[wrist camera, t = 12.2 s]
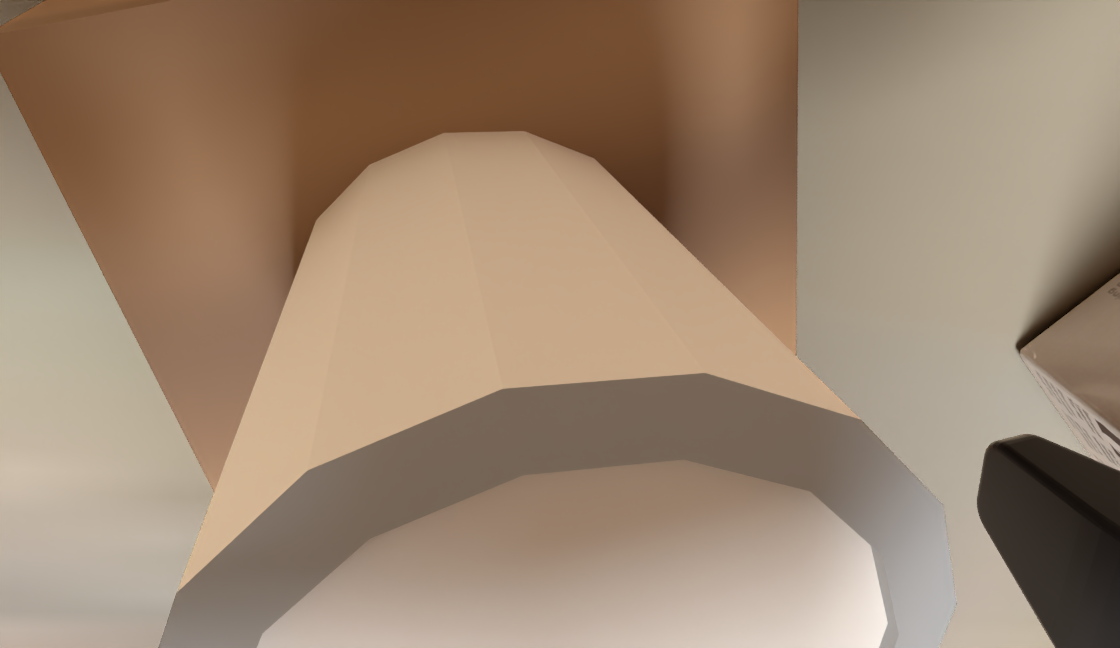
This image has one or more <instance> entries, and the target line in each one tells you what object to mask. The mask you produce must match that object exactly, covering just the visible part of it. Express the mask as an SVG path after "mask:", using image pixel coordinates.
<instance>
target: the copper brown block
mask: <svg viewBox="0 0 1120 648" xmlns="http://www.w3.org/2000/svg"><path fill="white" fill-rule="evenodd" d="M0 72H1V74H2V76H3V78H4V80H5V82H6V84H7V86H8V88H9V90H10V92H11V94H12V96H13V98H14V100H15V102H16V104H17V106H18V108H19V110H20V112H21V114H22V116H23V118H24V120H25V122H26V123H27V125H28V127H29V129H30V131H31V133H32V135H33V137H34V139H35V141H36V143H37V145H38V147H39V149H40V151H41V153H42V155H43V157H44V159H45V161H46V163H47V165H48V167H49V169H50V171H51V173H52V175H53V177H54V179H55V180H56V182H57V184H58V186H59V188H60V190H61V192H62V194H63V196H64V198H65V200H66V202H67V204H68V206H69V208H70V210H71V212H72V214H73V216H74V218H75V220H76V222H77V224H78V226H79V228H80V230H81V232H82V234H83V236H84V238H85V239H86V241H87V243H88V245H89V247H90V249H91V251H92V253H93V255H94V257H95V259H96V261H97V263H98V265H99V267H100V269H101V271H102V273H103V275H104V277H105V279H106V281H107V283H108V285H109V287H110V289H111V291H112V293H113V295H114V296H115V298H116V300H117V302H118V304H119V306H120V308H121V310H122V312H123V314H124V316H125V318H126V320H127V322H128V324H129V326H130V328H131V330H132V332H133V334H134V336H135V338H136V340H137V342H138V344H139V346H140V348H141V350H142V352H143V353H144V355H145V357H146V359H147V361H148V363H149V365H150V367H151V369H152V371H153V373H154V375H155V377H156V379H157V381H158V383H159V385H160V387H161V389H162V391H163V393H164V395H165V397H166V399H167V401H168V403H169V405H170V407H171V409H172V410H173V412H174V414H175V416H176V418H177V420H178V422H179V424H180V426H181V428H182V430H183V432H184V434H185V436H186V438H187V440H188V442H189V444H190V446H191V448H192V450H193V452H194V454H195V456H196V458H197V460H198V462H199V464H200V466H201V468H202V469H203V471H204V473H205V475H206V477H207V479H208V481H209V483H210V485H211V487H212V489H213V491H214V492H215V489H216V486H217V484H218V481H219V478H220V476H221V473H222V470H223V468H224V465H225V462H226V460H227V457H228V454H229V452H230V449H231V446H232V444H233V441H234V438H235V436H236V433H237V430H238V428H239V425H240V422H241V420H242V417H243V414H244V412H245V409H246V406H247V404H248V401H249V398H250V396H251V393H252V390H253V388H254V385H255V382H256V380H257V377H258V374H259V372H260V369H261V366H262V364H263V361H264V358H265V356H266V353H267V350H268V348H269V345H270V342H271V340H272V337H273V334H274V332H275V329H276V326H277V324H278V321H279V318H280V316H281V313H282V310H283V308H284V305H285V302H286V300H287V297H288V294H289V291H290V289H291V286H292V283H293V281H294V278H295V275H296V273H297V270H298V267H299V265H300V262H301V259H302V257H303V254H304V251H305V249H306V246H307V243H308V241H309V238H310V235H311V233H312V230H313V227H314V225H315V222H316V220H317V219H318V218H319V217H320V215H321V214H322V213H323V212H324V211H325V210H326V209H327V208H328V207H329V206H330V205H331V204H332V203H333V202H334V201H335V200H336V199H337V198H338V197H339V196H340V195H341V194H342V193H343V192H344V191H345V189H346V188H347V187H348V186H349V185H350V184H351V183H352V182H353V181H354V180H355V179H356V178H357V177H358V176H359V175H360V174H361V173H362V172H363V171H364V170H365V169H366V168H367V167H368V166H369V165H370V164H372V163H374V162H377V161H379V160H381V159H384V158H386V157H388V156H391V155H393V154H395V153H398V152H400V151H402V150H405V149H407V148H409V147H412V146H414V145H416V144H419V143H421V142H424V141H426V140H428V139H431V138H433V137H435V136H438V135H440V134H442V133H458V132H504V131H525V132H528V133H530V134H533V135H536V136H538V137H541V138H543V139H546V140H548V141H551V142H553V143H556V144H559V145H561V146H564V147H566V148H569V149H571V150H574V151H577V152H579V153H582V154H584V155H587V156H589V157H592V158H594V159H595V160H596V161H597V162H598V163H599V164H600V165H601V166H602V167H603V168H604V169H606V170H607V171H608V172H609V173H610V174H611V175H612V176H613V177H614V178H615V179H616V180H617V181H618V182H619V183H620V184H621V185H622V186H623V187H624V188H625V189H626V190H627V191H628V192H629V193H630V194H631V195H632V196H633V197H634V198H635V199H636V200H637V201H638V202H639V203H640V204H641V205H642V206H643V207H644V208H645V209H646V210H647V211H648V212H649V213H650V214H651V215H652V216H653V217H654V218H656V219H657V220H658V221H659V222H660V223H661V224H662V225H663V226H664V227H665V228H666V229H667V230H668V231H669V232H670V233H671V234H672V235H673V236H674V237H675V238H676V239H677V240H678V241H679V242H680V243H681V244H682V245H683V246H684V247H685V248H686V249H687V250H688V251H689V252H690V253H691V254H692V255H693V256H694V257H695V258H696V259H697V260H698V261H699V262H700V263H701V264H702V265H703V266H704V267H706V268H707V269H708V270H709V271H710V272H711V273H712V274H713V275H714V276H715V277H716V278H717V279H718V280H719V281H720V282H721V283H722V284H723V285H724V286H725V287H726V288H727V289H728V290H729V291H730V292H731V293H732V294H733V295H734V296H735V297H736V298H737V299H738V300H739V301H740V302H741V303H742V304H743V305H744V306H745V307H746V308H747V309H748V310H749V311H750V312H751V313H752V314H753V315H755V316H756V317H757V318H758V319H759V320H760V321H761V322H762V323H763V324H764V325H765V326H766V327H767V328H768V329H769V330H770V331H771V332H772V333H773V334H774V335H775V336H776V337H777V338H778V339H779V340H780V341H781V342H782V343H783V344H784V345H785V346H786V347H787V348H788V349H789V350H790V351H791V352H792V353H793V354H794V355H795V356H796V279H797V117H798V0H45V1H43V2H41V3H40V4H38V5H36V6H35V7H33V8H31V9H29V10H28V11H26V12H24V13H22V14H21V15H19V16H17V17H16V18H14V19H12V20H10V21H9V22H7V23H5V24H3V25H2V26H0Z"/></svg>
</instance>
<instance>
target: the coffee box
mask: <svg viewBox="0 0 1120 648" xmlns="http://www.w3.org/2000/svg"><path fill="white" fill-rule="evenodd" d="M1020 356H1021V358H1022V360H1023V361H1024V363H1025V364H1026V366H1027V367H1028V369H1029V370H1030V372H1031V373H1032V375H1033V376H1034V378H1035V379H1036V380H1037V382H1038V383H1039V385H1040V386H1041V387H1042V389H1043V390H1044V392H1045V393H1046V395H1047V396H1048V398H1049V399H1050V401H1051V402H1052V403H1053V405H1054V406H1055V408H1056V409H1057V410H1058V412H1059V413H1060V415H1061V416H1062V418H1063V419H1064V420H1065V422H1066V423H1067V425H1068V426H1069V428H1070V429H1071V430H1072V432H1073V433H1074V435H1075V436H1076V438H1077V439H1078V440H1079V442H1080V443H1081V444H1082V445H1083V447H1084V448H1085V449H1086V451H1087V452H1088V453H1089V454H1090V456H1091V457H1092V458H1093V460H1096V461H1098V462H1100V463H1103V464H1105V465H1107V466H1110V467H1112V468H1114V469H1117V470H1119V471H1120V273H1119V274H1118V275H1116V276H1115V277H1114V278H1113V279H1111V280H1110V281H1109V282H1107V283H1106V284H1105V285H1103V286H1102V287H1101V288H1100V289H1098V290H1097V291H1096V292H1094V293H1093V294H1092V295H1091V296H1089V297H1088V298H1087V299H1085V300H1084V301H1083V302H1082V303H1080V304H1079V305H1078V306H1076V307H1075V308H1074V309H1073V310H1071V311H1070V312H1069V313H1067V314H1066V315H1065V316H1063V317H1062V318H1061V319H1060V320H1058V321H1057V322H1056V323H1054V324H1053V325H1052V326H1050V327H1049V328H1048V329H1046V330H1045V331H1044V332H1043V333H1041V334H1040V335H1039V336H1037V337H1036V338H1035V339H1033V340H1032V341H1031V342H1030V343H1028V344H1027V345H1026V346H1025V347H1023V348H1022V349H1021V351H1020Z"/></svg>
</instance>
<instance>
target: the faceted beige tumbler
mask: <svg viewBox="0 0 1120 648" xmlns="http://www.w3.org/2000/svg"><path fill="white" fill-rule="evenodd" d="M956 605H957V601H956V594H955V586H954V579H953V572H952V565H951V557H950V550H949V543H948V536H947V529H946V521H945V514H944V507H943V504H942V503H941V502H940V501H939V500H938V499H937V498H936V497H935V496H934V495H933V494H932V493H931V492H930V491H929V490H928V489H927V488H926V487H925V486H924V484H923V483H922V482H921V481H920V480H919V479H918V478H917V477H916V476H915V475H914V474H913V473H912V472H911V471H910V470H909V469H908V468H907V467H906V466H905V465H904V464H903V463H902V462H901V461H900V460H899V459H898V458H897V457H896V456H895V455H894V453H893V452H892V451H891V450H890V449H889V448H888V447H887V446H886V445H885V444H884V443H883V442H882V441H881V440H880V439H879V438H878V437H877V436H876V435H875V434H874V433H873V432H872V431H871V430H870V429H869V428H868V427H867V426H866V425H865V423H864V422H863V421H862V420H861V419H860V418H859V417H858V416H857V415H856V414H855V413H854V412H852V411H851V410H850V409H849V408H848V407H847V406H846V405H845V404H844V403H843V402H842V401H841V400H840V399H839V398H838V397H837V396H836V395H835V394H834V393H833V392H832V391H831V390H830V389H829V388H828V387H827V386H826V385H825V384H824V383H823V382H822V381H821V380H820V379H819V378H818V377H817V376H816V375H815V374H814V373H813V372H812V371H811V370H810V369H809V368H808V367H807V366H806V365H805V364H803V363H802V362H801V361H800V360H799V359H798V358H797V357H796V356H795V355H794V354H793V353H792V352H791V351H790V350H789V349H788V348H787V347H786V346H785V345H784V344H783V343H782V342H781V341H780V340H779V339H778V338H777V337H776V336H775V335H774V334H773V333H772V332H771V331H770V330H769V329H768V328H767V327H766V326H765V325H764V324H763V323H762V322H761V321H760V320H759V319H758V318H757V317H756V316H755V315H753V314H752V313H751V312H750V311H749V310H748V309H747V308H746V307H745V306H744V305H743V304H742V303H741V302H740V301H739V300H738V299H737V298H736V297H735V296H734V295H733V294H732V293H731V292H730V291H729V290H728V289H727V288H726V287H725V286H724V285H723V284H722V283H721V282H720V281H719V280H718V279H717V278H716V277H715V276H714V275H713V274H712V273H711V272H710V271H709V270H708V269H707V268H706V267H704V266H703V265H702V264H701V263H700V262H699V261H698V260H697V259H696V258H695V257H694V256H693V255H692V254H691V253H690V252H689V251H688V250H687V249H686V248H685V247H684V246H683V245H682V244H681V243H680V242H679V241H678V240H677V239H676V238H675V237H674V236H673V235H672V234H671V233H670V232H669V231H668V230H667V229H666V228H665V227H664V226H663V225H662V224H661V223H660V222H659V221H658V220H657V219H656V218H654V217H653V216H652V215H651V214H650V213H649V212H648V211H647V210H646V209H645V208H644V207H643V206H642V205H641V204H640V203H639V202H638V201H637V200H636V199H635V198H634V197H633V196H632V195H631V194H630V193H629V192H628V191H627V190H626V189H625V188H624V187H623V186H622V185H621V184H620V183H619V182H618V181H617V180H616V179H615V178H614V177H613V176H612V175H611V174H610V173H609V172H608V171H607V170H606V169H604V168H603V167H602V166H601V165H600V164H599V163H598V162H597V161H596V160H595V159H594V158H592V157H589V156H587V155H584V154H582V153H579V152H577V151H574V150H571V149H569V148H566V147H564V146H561V145H559V144H556V143H553V142H551V141H548V140H546V139H543V138H541V137H538V136H536V135H533V134H530V133H528V132H525V131H504V132H458V133H442V134H440V135H438V136H435V137H433V138H431V139H428V140H426V141H424V142H421V143H419V144H416V145H414V146H412V147H409V148H407V149H405V150H402V151H400V152H398V153H395V154H393V155H391V156H388V157H386V158H384V159H381V160H379V161H377V162H374V163H372V164H370V165H369V166H368V167H367V168H366V169H365V170H364V171H363V172H362V173H361V174H360V175H359V176H358V177H357V178H356V179H355V180H354V181H353V182H352V183H351V184H350V185H349V186H348V187H347V188H346V189H345V191H344V192H343V193H342V194H341V195H340V196H339V197H338V198H337V199H336V200H335V201H334V202H333V203H332V204H331V205H330V206H329V207H328V208H327V209H326V210H325V211H324V212H323V213H322V214H321V215H320V217H319V218H318V219H317V220H316V222H315V225H314V227H313V230H312V233H311V235H310V238H309V241H308V243H307V246H306V249H305V251H304V254H303V257H302V259H301V262H300V265H299V267H298V270H297V273H296V275H295V278H294V281H293V283H292V286H291V289H290V291H289V294H288V297H287V300H286V302H285V305H284V308H283V310H282V313H281V316H280V318H279V321H278V324H277V326H276V329H275V332H274V334H273V337H272V340H271V342H270V345H269V348H268V350H267V353H266V356H265V358H264V361H263V364H262V366H261V369H260V372H259V374H258V377H257V380H256V382H255V385H254V388H253V390H252V393H251V396H250V398H249V401H248V404H247V406H246V409H245V412H244V414H243V417H242V420H241V422H240V425H239V428H238V430H237V433H236V436H235V438H234V441H233V444H232V446H231V449H230V452H229V454H228V457H227V460H226V462H225V465H224V468H223V470H222V473H221V476H220V478H219V481H218V484H217V486H216V489H215V492H214V494H213V497H212V500H211V502H210V505H209V508H208V510H207V513H206V516H205V518H204V521H203V524H202V526H201V529H200V532H199V534H198V537H197V540H196V542H195V545H194V548H193V550H192V553H191V556H190V559H189V561H188V564H187V567H186V569H185V572H184V575H183V577H182V580H181V583H180V585H179V588H178V591H177V593H176V596H175V599H174V602H173V605H172V608H171V611H170V614H169V617H168V620H167V623H166V626H165V629H164V632H163V635H162V638H161V641H160V644H159V647H158V648H939V646H940V644H941V642H942V639H943V637H944V634H945V632H946V629H947V627H948V625H949V622H950V620H951V617H952V615H953V612H954V610H955V608H956Z"/></svg>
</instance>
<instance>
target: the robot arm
mask: <svg viewBox="0 0 1120 648" xmlns="http://www.w3.org/2000/svg"><path fill="white" fill-rule="evenodd" d="M977 508H978V513H979V516H980V519H981V521H982V523H983V525H984V527H985V529H986V531H987V532H988V534H989V536H990V538H991V539H992V541H993V543H994V544H995V546H996V548H997V550H998V551H999V553H1000V555H1001V556H1002V558H1003V560H1004V561H1005V563H1006V565H1007V567H1008V568H1009V570H1010V572H1011V573H1012V575H1013V577H1014V579H1015V580H1016V582H1017V584H1018V585H1019V587H1020V589H1021V590H1022V592H1023V594H1024V596H1025V597H1026V599H1027V601H1028V602H1029V604H1030V606H1031V608H1032V609H1033V611H1034V613H1035V614H1036V616H1037V618H1038V619H1039V621H1040V623H1041V625H1042V626H1043V628H1044V630H1045V631H1046V633H1047V635H1048V637H1049V638H1050V640H1051V641H1052V643H1053V645H1054V646H1055V648H1120V471H1119V470H1117V469H1114V468H1112V467H1110V466H1107V465H1105V464H1103V463H1100V462H1098V461H1096V460H1093V459H1091V458H1089V457H1086V456H1084V455H1081V454H1079V453H1077V452H1074V451H1072V450H1070V449H1067V448H1065V447H1063V446H1060V445H1058V444H1056V443H1053V442H1051V441H1049V440H1046V439H1044V438H1042V437H1039V436H1036V435H1032V434H1023V435H1018V436H1014V437H1010V438H1006V439H1002V440H998V441H995V442H993V443H991V444H990V445H989V446H988V448H987V449H986V451H985V455H984V461H983V467H982V473H981V478H980V484H979V490H978V496H977Z"/></svg>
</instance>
